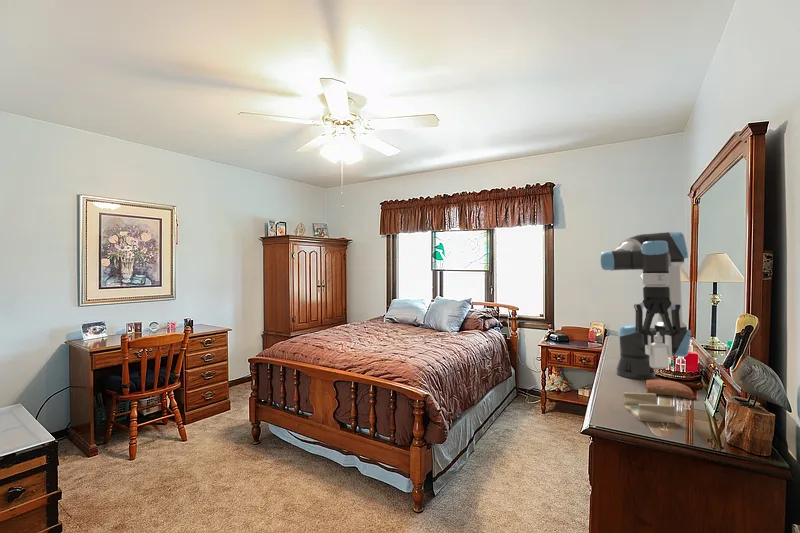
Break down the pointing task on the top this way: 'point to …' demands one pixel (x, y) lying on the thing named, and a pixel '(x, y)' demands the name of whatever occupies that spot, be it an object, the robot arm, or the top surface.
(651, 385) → the ceramic shard
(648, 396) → the rack
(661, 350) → the eye dropper bottle
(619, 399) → the top surface
